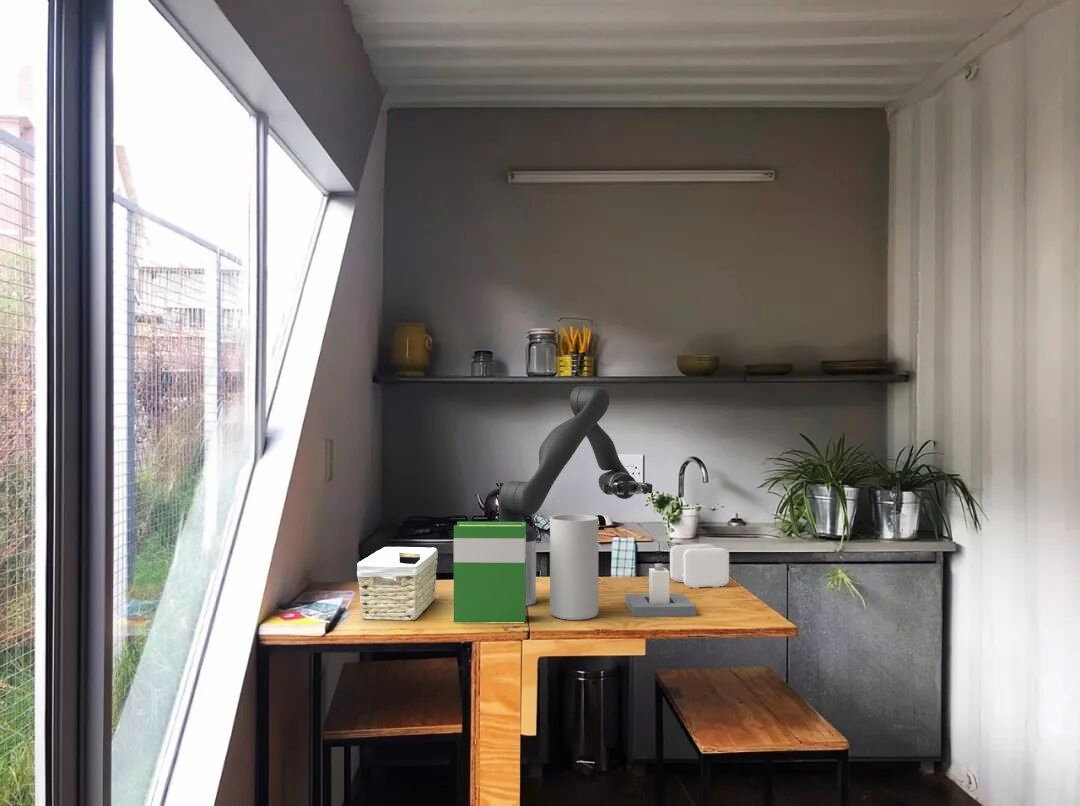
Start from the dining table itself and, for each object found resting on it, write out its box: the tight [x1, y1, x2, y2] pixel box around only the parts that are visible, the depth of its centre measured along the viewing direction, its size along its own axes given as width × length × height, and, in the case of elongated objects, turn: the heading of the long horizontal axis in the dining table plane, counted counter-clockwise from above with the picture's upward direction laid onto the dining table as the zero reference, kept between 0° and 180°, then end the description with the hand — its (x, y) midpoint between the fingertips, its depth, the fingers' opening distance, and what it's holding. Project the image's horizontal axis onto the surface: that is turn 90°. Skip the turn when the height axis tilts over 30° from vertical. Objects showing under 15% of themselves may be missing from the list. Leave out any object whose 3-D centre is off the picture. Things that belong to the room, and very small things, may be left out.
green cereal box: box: [453, 521, 527, 623], centre depth 193 cm, size 18×7×24 cm, turn 88°
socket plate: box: [624, 593, 697, 618], centre depth 202 cm, size 16×14×2 cm
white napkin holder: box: [669, 543, 730, 589], centre depth 232 cm, size 15×11×12 cm
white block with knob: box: [648, 562, 670, 603], centre depth 202 cm, size 4×4×12 cm
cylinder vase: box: [549, 514, 599, 621], centre depth 197 cm, size 12×12×25 cm
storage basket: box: [356, 546, 439, 622], centre depth 202 cm, size 24×16×15 cm
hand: (631, 490), depth 217 cm, fingers open, 8 cm apart
